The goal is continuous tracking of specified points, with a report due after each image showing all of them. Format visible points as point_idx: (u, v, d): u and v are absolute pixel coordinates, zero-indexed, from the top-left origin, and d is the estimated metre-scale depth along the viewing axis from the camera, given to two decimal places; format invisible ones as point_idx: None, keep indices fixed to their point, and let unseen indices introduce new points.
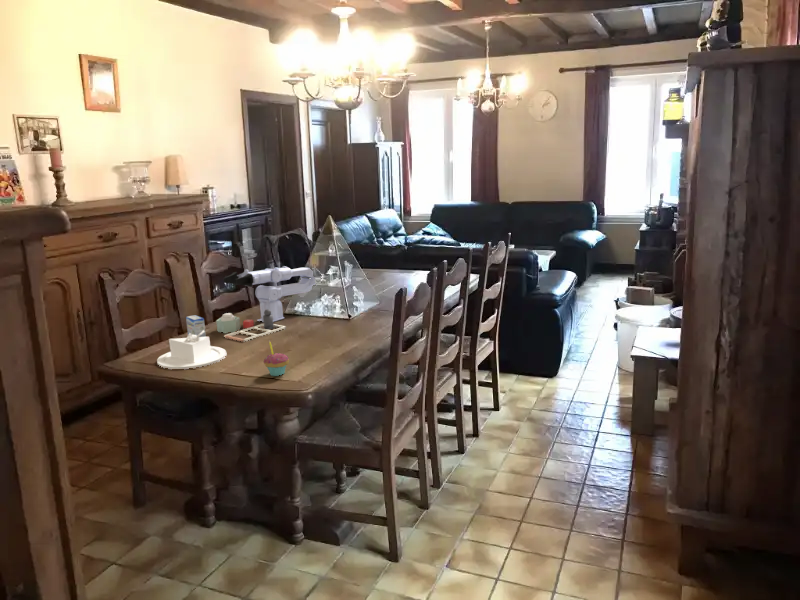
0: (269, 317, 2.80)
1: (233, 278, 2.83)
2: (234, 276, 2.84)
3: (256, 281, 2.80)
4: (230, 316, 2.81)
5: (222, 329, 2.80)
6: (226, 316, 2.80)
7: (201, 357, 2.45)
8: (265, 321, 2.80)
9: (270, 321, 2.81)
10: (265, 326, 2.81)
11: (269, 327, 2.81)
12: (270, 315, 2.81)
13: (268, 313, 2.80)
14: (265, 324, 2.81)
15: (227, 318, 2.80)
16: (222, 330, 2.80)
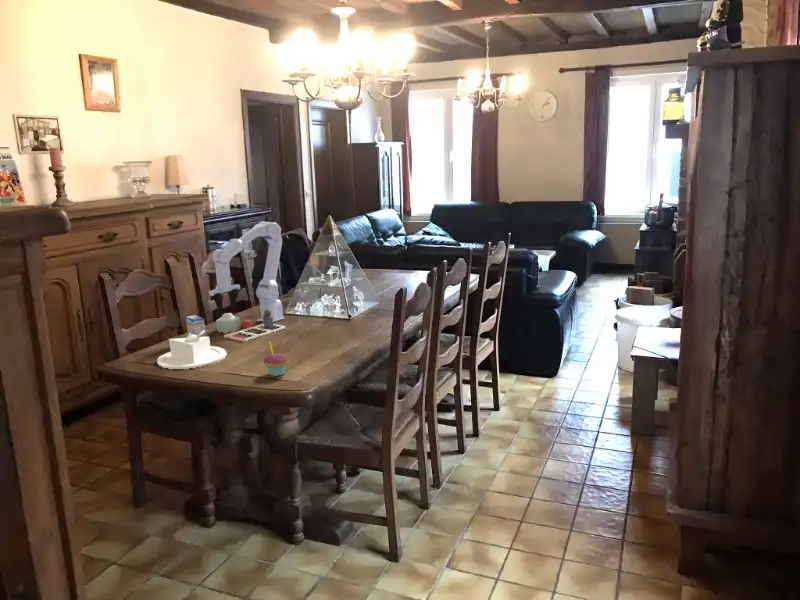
0: (269, 317, 2.80)
1: (231, 296, 2.83)
2: (229, 295, 2.84)
3: (211, 293, 2.74)
4: (230, 316, 2.81)
5: (222, 329, 2.80)
6: (226, 316, 2.80)
7: (201, 357, 2.45)
8: (265, 321, 2.80)
9: (270, 321, 2.81)
10: (265, 326, 2.81)
11: (269, 327, 2.81)
12: (270, 315, 2.81)
13: (268, 313, 2.80)
14: (265, 324, 2.81)
15: (227, 318, 2.80)
16: (222, 330, 2.80)
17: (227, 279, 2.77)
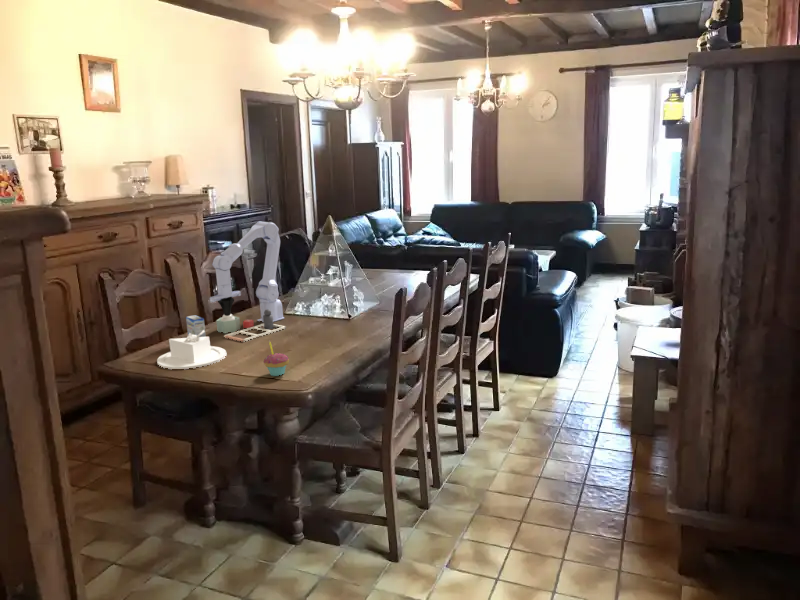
0: (269, 317, 2.80)
1: None
2: None
3: (211, 300, 2.75)
4: (230, 317, 2.81)
5: (222, 329, 2.80)
6: (226, 317, 2.81)
7: (201, 357, 2.45)
8: (265, 321, 2.80)
9: (270, 321, 2.81)
10: (265, 326, 2.81)
11: (269, 327, 2.81)
12: (270, 315, 2.81)
13: (268, 313, 2.80)
14: (265, 324, 2.81)
15: (228, 319, 2.80)
16: (222, 330, 2.80)
17: (228, 286, 2.77)
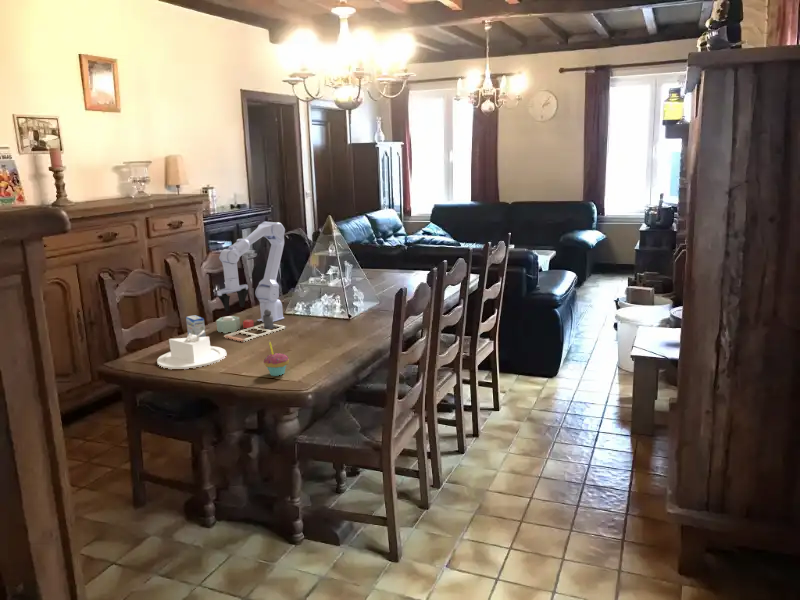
0: (269, 317, 2.80)
1: (240, 296, 2.84)
2: (239, 294, 2.84)
3: (219, 293, 2.74)
4: (230, 319, 2.82)
5: (222, 329, 2.80)
6: (226, 319, 2.81)
7: (201, 357, 2.45)
8: (265, 321, 2.80)
9: (270, 321, 2.81)
10: (265, 326, 2.81)
11: (269, 327, 2.81)
12: (270, 315, 2.81)
13: (268, 313, 2.80)
14: (265, 324, 2.81)
15: None
16: (222, 330, 2.80)
17: (235, 279, 2.77)
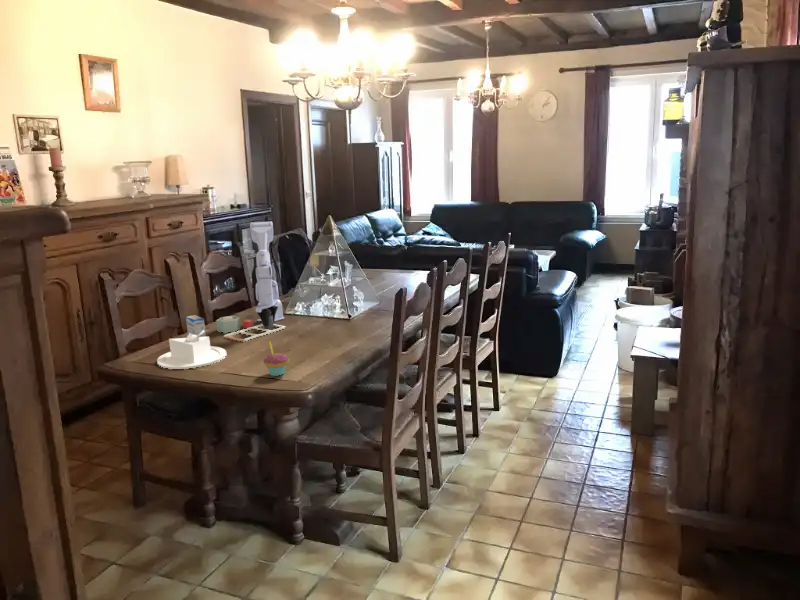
0: (269, 317, 2.80)
1: None
2: None
3: (258, 310, 2.74)
4: (230, 319, 2.82)
5: (222, 329, 2.80)
6: (226, 319, 2.81)
7: (201, 357, 2.45)
8: None
9: (270, 321, 2.81)
10: (265, 326, 2.81)
11: (269, 327, 2.81)
12: (270, 315, 2.81)
13: None
14: None
15: None
16: (222, 330, 2.80)
17: (271, 295, 2.78)
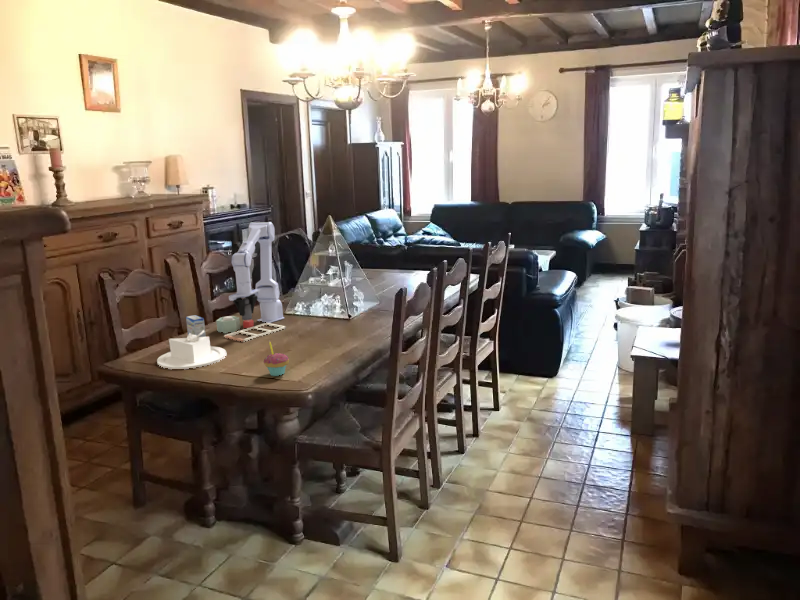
0: (245, 306, 2.70)
1: (249, 302, 2.73)
2: None
3: (231, 298, 2.65)
4: (230, 319, 2.82)
5: (222, 329, 2.80)
6: (226, 319, 2.81)
7: (201, 357, 2.45)
8: None
9: (246, 311, 2.70)
10: None
11: (246, 317, 2.71)
12: (248, 304, 2.71)
13: (245, 302, 2.70)
14: None
15: None
16: (222, 330, 2.80)
17: (247, 283, 2.68)
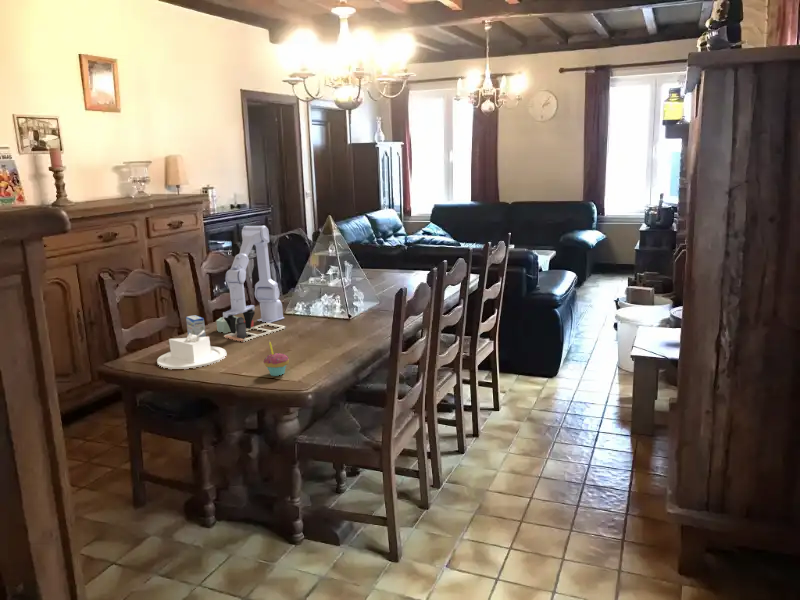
0: (240, 325, 2.69)
1: (246, 317, 2.73)
2: (245, 316, 2.74)
3: (225, 315, 2.64)
4: None
5: (222, 329, 2.80)
6: None
7: (201, 357, 2.45)
8: (236, 329, 2.70)
9: (241, 330, 2.69)
10: (237, 334, 2.71)
11: (240, 336, 2.70)
12: (242, 323, 2.70)
13: (239, 321, 2.69)
14: (236, 332, 2.70)
15: None
16: (222, 330, 2.80)
17: (241, 300, 2.66)
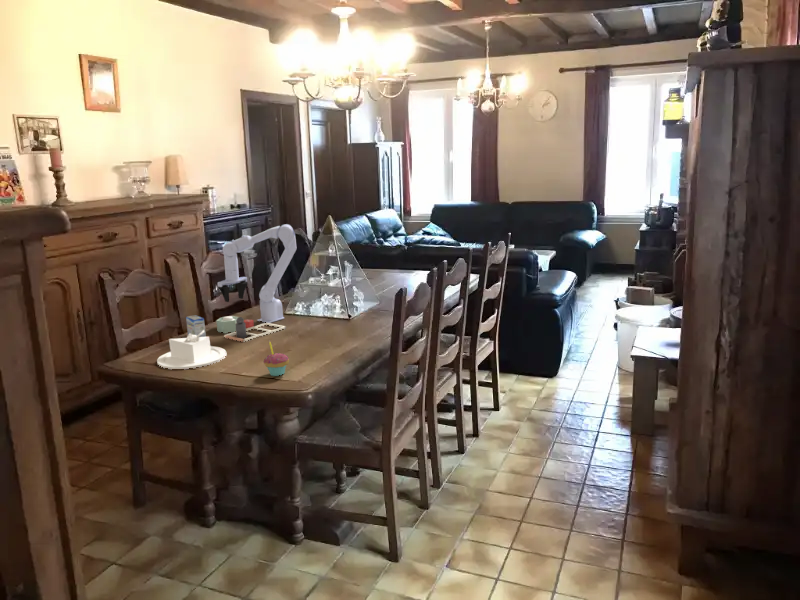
0: (240, 325, 2.69)
1: (239, 288, 2.95)
2: (238, 286, 2.96)
3: (219, 285, 2.86)
4: (230, 319, 2.82)
5: (222, 329, 2.80)
6: (226, 319, 2.81)
7: (201, 357, 2.45)
8: (236, 329, 2.70)
9: (241, 330, 2.69)
10: (237, 334, 2.71)
11: (240, 336, 2.70)
12: (242, 323, 2.70)
13: (239, 321, 2.69)
14: (236, 332, 2.70)
15: None
16: (222, 330, 2.80)
17: (235, 271, 2.88)
